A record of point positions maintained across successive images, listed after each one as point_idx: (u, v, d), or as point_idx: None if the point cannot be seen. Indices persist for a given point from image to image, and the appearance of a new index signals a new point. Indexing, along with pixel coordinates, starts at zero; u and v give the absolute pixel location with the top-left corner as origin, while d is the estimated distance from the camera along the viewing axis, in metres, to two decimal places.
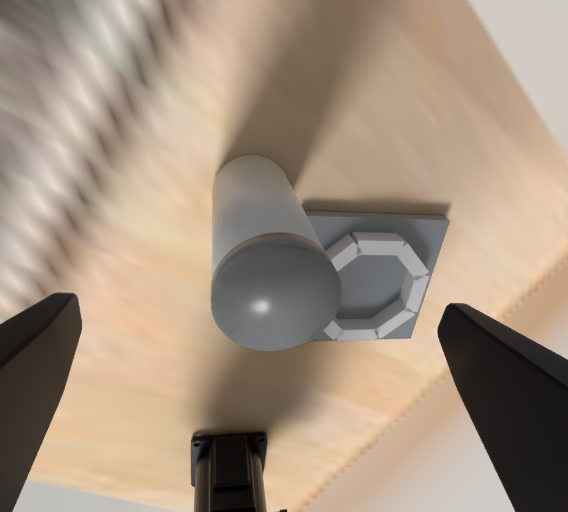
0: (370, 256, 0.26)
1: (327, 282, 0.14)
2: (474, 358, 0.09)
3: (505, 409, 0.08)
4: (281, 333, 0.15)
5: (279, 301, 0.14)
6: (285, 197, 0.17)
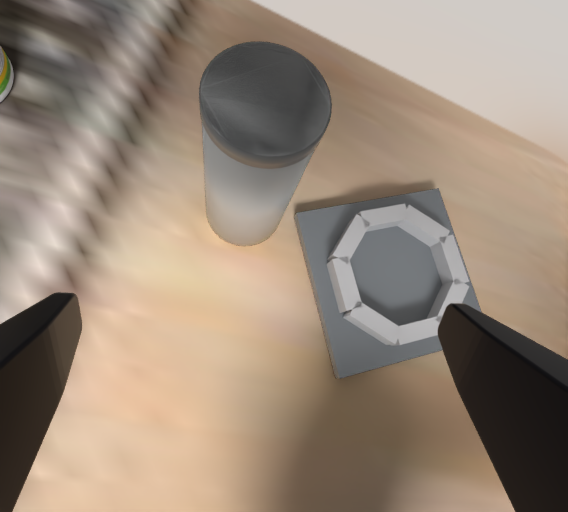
0: (384, 240, 0.25)
1: (307, 73, 0.14)
2: (474, 358, 0.09)
3: (505, 409, 0.08)
4: (284, 133, 0.14)
5: (268, 97, 0.14)
6: None
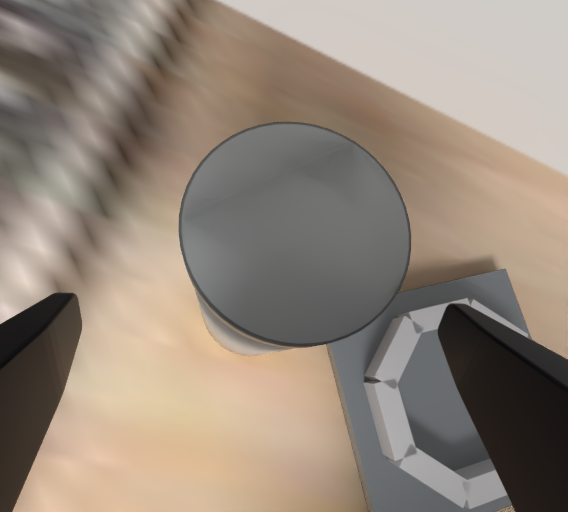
0: (438, 344, 0.18)
1: (367, 176, 0.08)
2: (474, 358, 0.09)
3: (505, 409, 0.08)
4: (332, 294, 0.08)
5: (303, 224, 0.08)
6: None
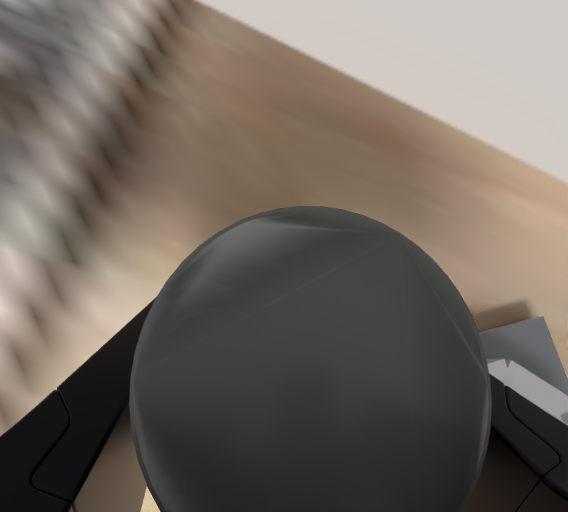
0: None
1: (421, 289, 0.06)
2: None
3: None
4: (378, 496, 0.05)
5: (328, 377, 0.05)
6: None
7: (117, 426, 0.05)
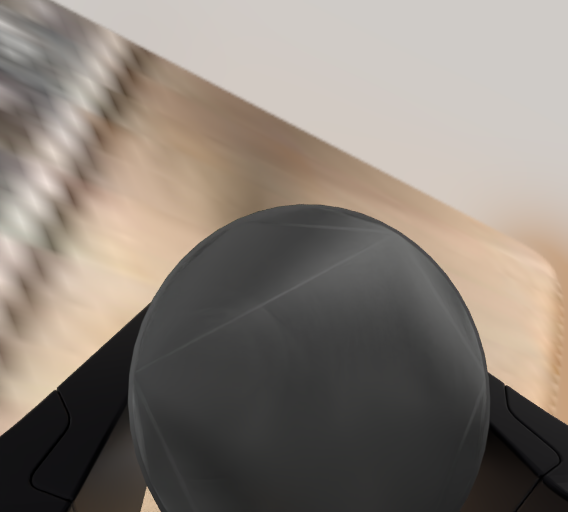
0: None
1: (420, 287, 0.06)
2: None
3: None
4: (376, 494, 0.05)
5: (326, 375, 0.05)
6: None
7: (117, 426, 0.05)
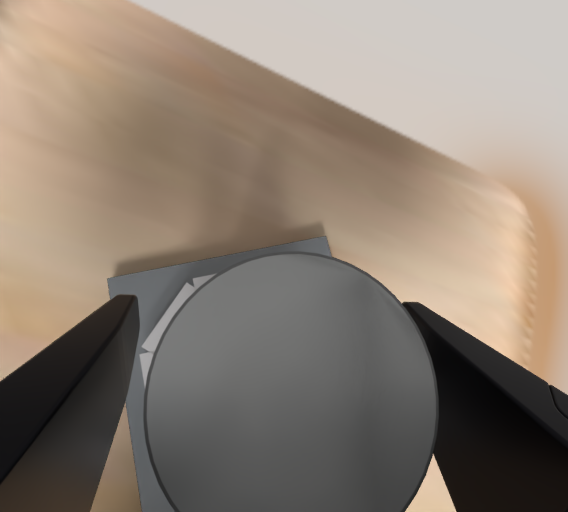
0: None
1: (383, 320, 0.07)
2: None
3: (449, 410, 0.08)
4: (341, 491, 0.06)
5: (303, 395, 0.06)
6: None
7: (48, 428, 0.05)
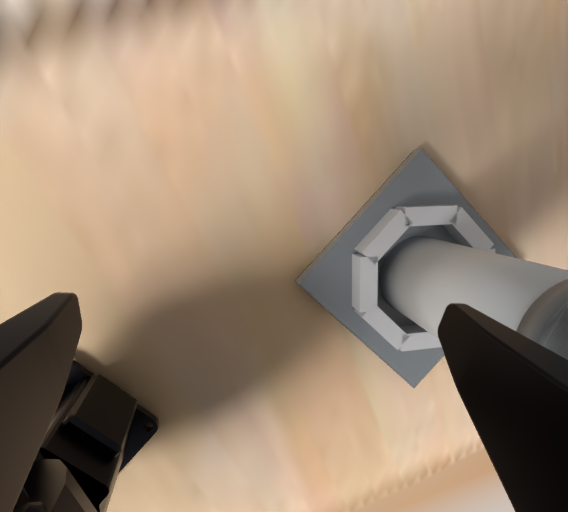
0: None
1: None
2: (474, 358, 0.09)
3: (505, 409, 0.08)
4: None
5: None
6: None
7: None
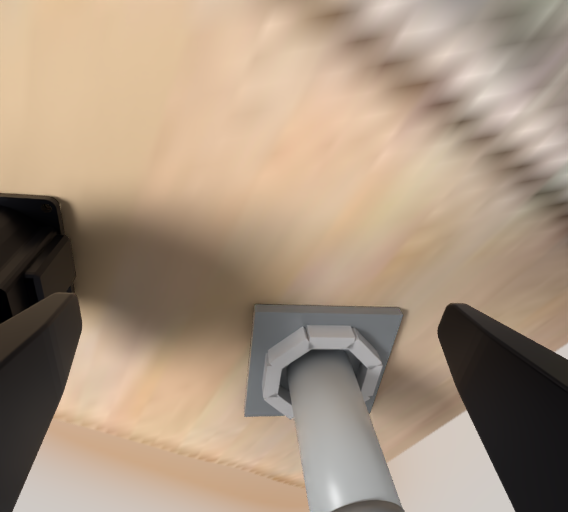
0: None
1: None
2: (474, 358, 0.09)
3: (505, 409, 0.08)
4: None
5: None
6: None
7: None
